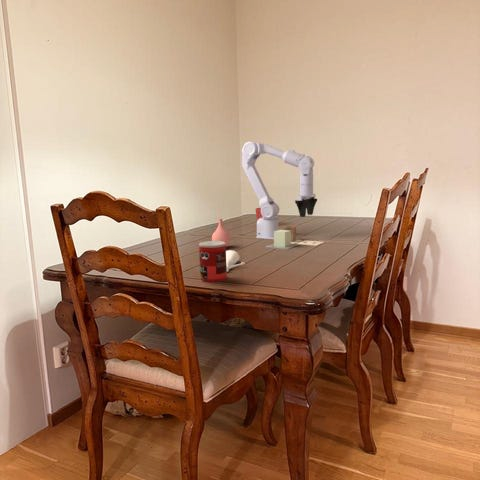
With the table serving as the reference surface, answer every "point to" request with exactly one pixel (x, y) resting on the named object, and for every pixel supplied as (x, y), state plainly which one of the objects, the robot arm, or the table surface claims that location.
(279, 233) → the sage block
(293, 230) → the walnut block
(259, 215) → the flower pot
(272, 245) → the light grey square plate
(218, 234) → the perfume bottle
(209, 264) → the canned food
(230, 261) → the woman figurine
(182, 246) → the table surface
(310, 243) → the tile
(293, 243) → the plain tile
